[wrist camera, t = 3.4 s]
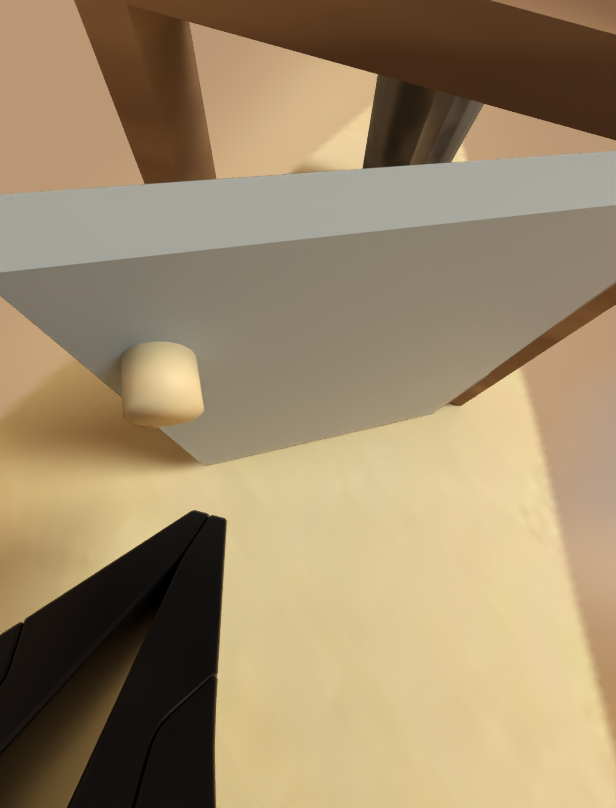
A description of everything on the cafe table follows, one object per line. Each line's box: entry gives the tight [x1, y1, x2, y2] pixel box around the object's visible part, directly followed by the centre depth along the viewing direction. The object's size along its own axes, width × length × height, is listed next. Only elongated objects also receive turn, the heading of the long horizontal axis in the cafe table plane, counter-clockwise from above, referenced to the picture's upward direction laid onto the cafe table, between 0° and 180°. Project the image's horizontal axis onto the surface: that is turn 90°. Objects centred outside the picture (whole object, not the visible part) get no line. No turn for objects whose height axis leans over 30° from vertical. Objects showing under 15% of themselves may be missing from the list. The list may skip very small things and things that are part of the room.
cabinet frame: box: [74, 0, 616, 406], centre depth 12 cm, size 2×15×13 cm, turn 74°
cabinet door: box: [0, 151, 616, 466], centre depth 9 cm, size 2×12×11 cm, turn 104°
